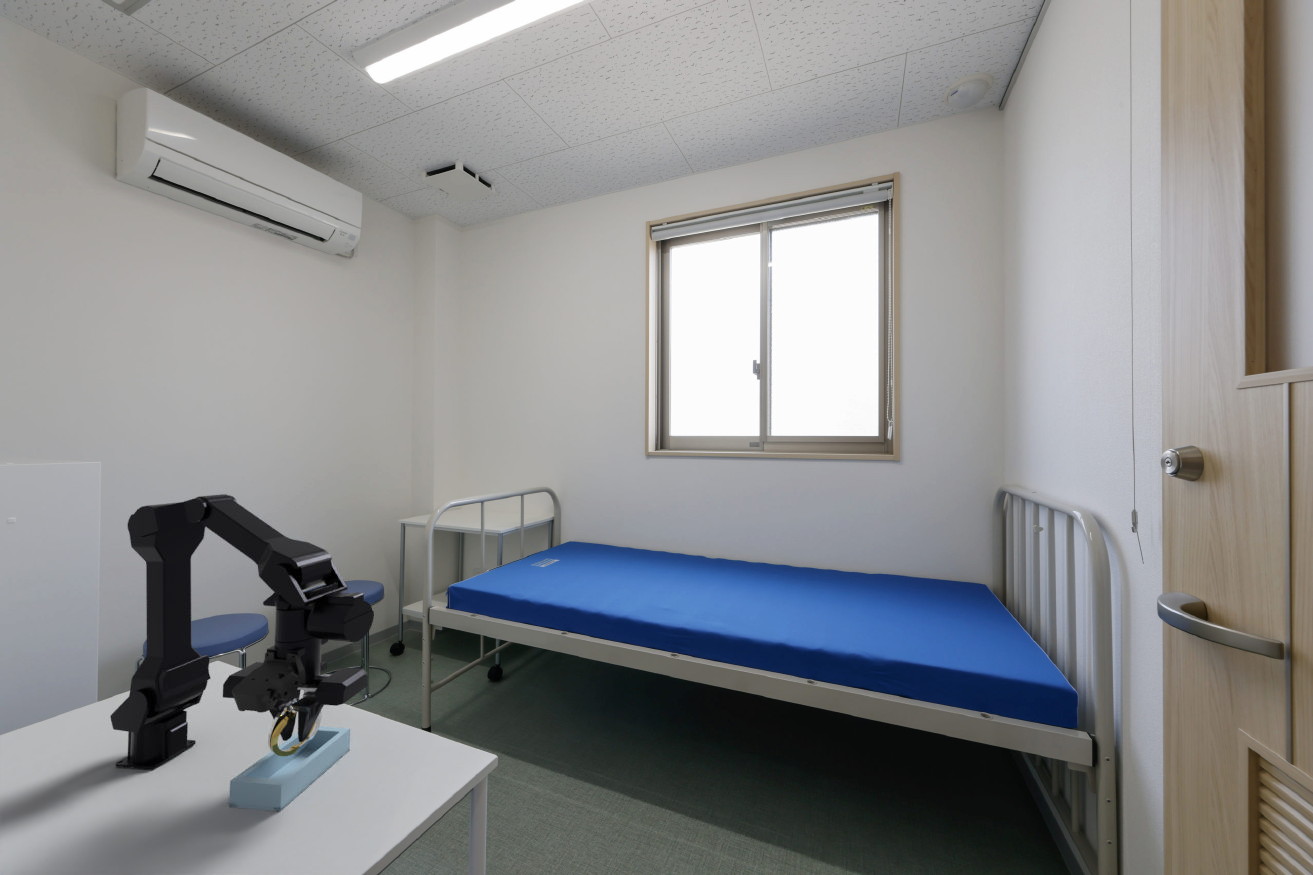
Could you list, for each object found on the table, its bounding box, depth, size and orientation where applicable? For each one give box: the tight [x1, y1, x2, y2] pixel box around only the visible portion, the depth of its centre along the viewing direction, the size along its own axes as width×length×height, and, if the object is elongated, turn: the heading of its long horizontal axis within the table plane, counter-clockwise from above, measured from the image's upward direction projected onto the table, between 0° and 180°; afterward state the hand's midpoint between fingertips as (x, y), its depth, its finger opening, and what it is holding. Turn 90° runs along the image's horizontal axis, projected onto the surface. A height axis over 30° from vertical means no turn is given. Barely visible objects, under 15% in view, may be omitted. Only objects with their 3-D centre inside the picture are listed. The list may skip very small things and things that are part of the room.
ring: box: [267, 698, 322, 756], centre depth 72 cm, size 7×3×8 cm, turn 156°
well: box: [228, 725, 351, 812], centre depth 71 cm, size 8×13×4 cm, turn 175°
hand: (295, 739), depth 71 cm, fingers closed on ring, 2 cm apart
